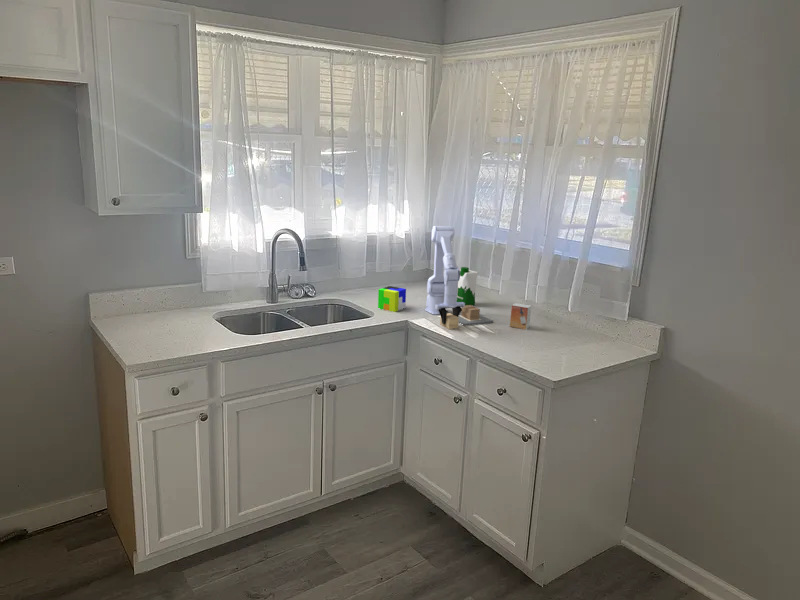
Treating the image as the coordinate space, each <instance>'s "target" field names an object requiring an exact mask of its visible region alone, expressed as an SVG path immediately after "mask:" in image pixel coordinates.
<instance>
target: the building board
mask: <svg viewBox="0 0 800 600" xmlns="http://www.w3.org/2000/svg"><path fill="white" fill-rule="evenodd" d="M458 317H459V323H458V324H460V323H461V324H460V325H462V324H463V325H462V326H464V325H467V326H473V325H472V324H476V325H484V323H485V324H493V323H494V320H492V319H491V318H488V317H486V316H484V315H483V314H480V313H479V319H477V320H469V319H467V318H465V317H463V316H461V313H460V314H459V316H458Z"/></svg>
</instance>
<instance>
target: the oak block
mask: <svg viewBox="0 0 800 600" xmlns="http://www.w3.org/2000/svg"><path fill="white" fill-rule="evenodd" d="M439 320H440V321H439V324H440V325H441V326H442V327H444V328H446V329H448V330H452V329H453V328H455V329H459V324H460V323H459V317H457V316H455V315H453V313H450V312H447V316H446V324H443V323H442V319H441V316H440V319H439ZM453 330H454V329H453Z"/></svg>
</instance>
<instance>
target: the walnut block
mask: <svg viewBox="0 0 800 600" xmlns="http://www.w3.org/2000/svg"><path fill="white" fill-rule="evenodd" d="M461 308H462V311H461V312H460V314H461V316H463V317H465V318H467V319H469V320H477V319H479V314H480V310H481V309H480V308H478V307H476V306H472V305H466V306H465V307H461Z"/></svg>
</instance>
